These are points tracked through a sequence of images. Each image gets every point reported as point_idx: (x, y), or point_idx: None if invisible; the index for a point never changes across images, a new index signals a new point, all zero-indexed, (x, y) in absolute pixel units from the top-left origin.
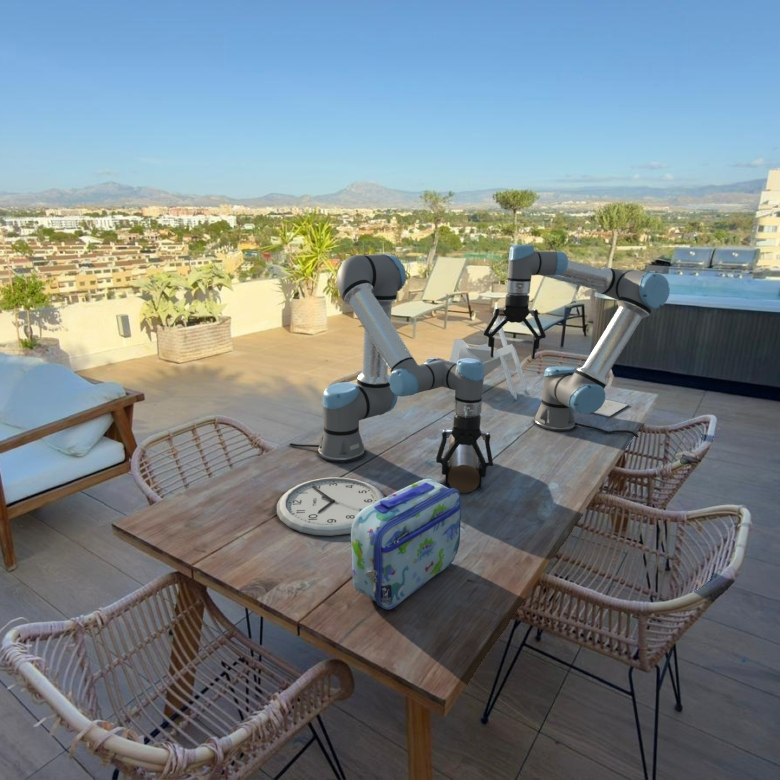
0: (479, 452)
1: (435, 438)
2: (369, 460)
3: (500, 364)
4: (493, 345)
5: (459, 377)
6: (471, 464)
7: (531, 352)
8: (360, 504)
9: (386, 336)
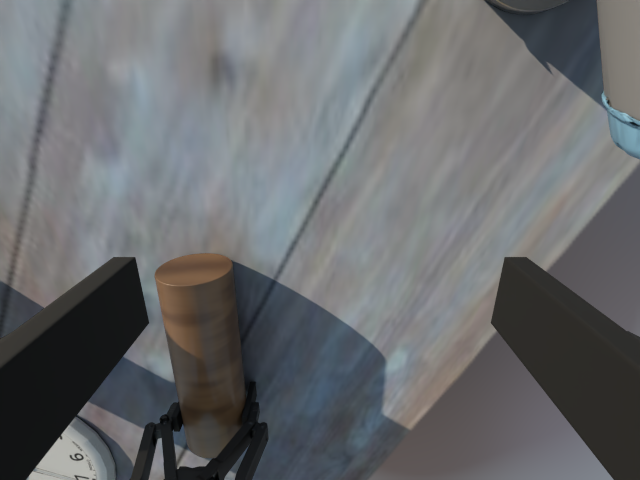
0: (232, 464)
1: (115, 153)
2: (3, 311)
3: None
4: (71, 411)
5: None
6: (223, 447)
7: (531, 280)
8: (69, 466)
9: None
